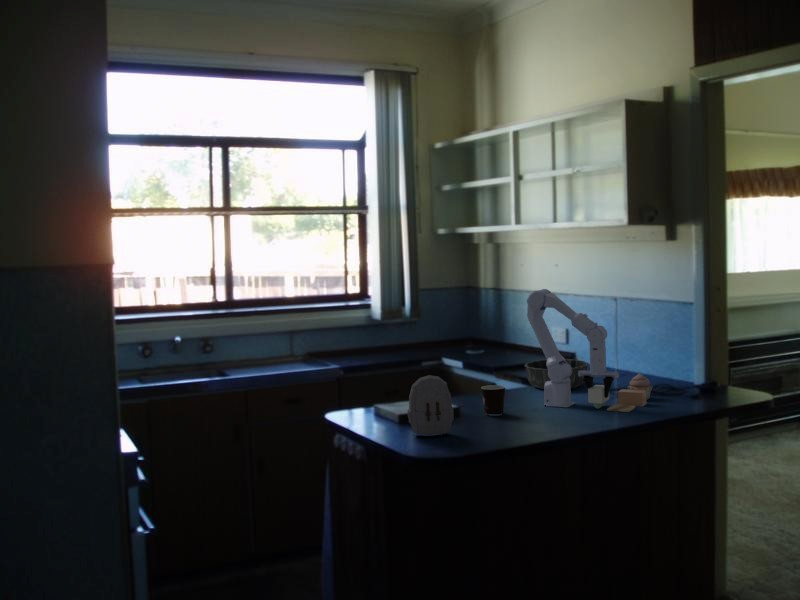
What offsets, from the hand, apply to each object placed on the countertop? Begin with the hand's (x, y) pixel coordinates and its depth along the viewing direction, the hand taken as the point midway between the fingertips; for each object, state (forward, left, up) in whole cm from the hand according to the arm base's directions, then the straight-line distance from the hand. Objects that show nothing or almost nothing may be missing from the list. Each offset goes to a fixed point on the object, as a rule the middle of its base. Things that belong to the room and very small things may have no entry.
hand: (598, 396), depth 291 cm
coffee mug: (-31, -22, -4) cm, 39 cm away
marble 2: (0, +2, -4) cm, 4 cm away
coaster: (+8, 0, -4) cm, 9 cm away
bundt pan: (-29, +36, -4) cm, 47 cm away
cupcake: (+10, +20, -4) cm, 23 cm away
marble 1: (0, -2, -4) cm, 4 cm away
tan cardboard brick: (+10, +9, -4) cm, 14 cm away
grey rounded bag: (-36, -60, -4) cm, 70 cm away
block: (0, 0, -2) cm, 2 cm away
